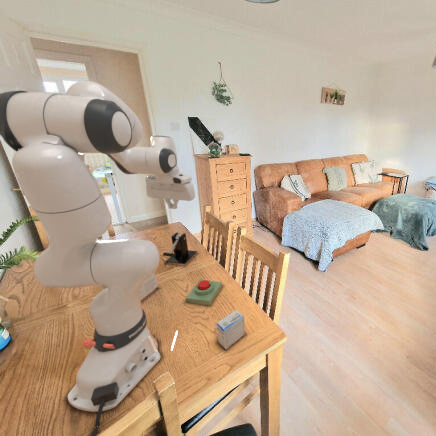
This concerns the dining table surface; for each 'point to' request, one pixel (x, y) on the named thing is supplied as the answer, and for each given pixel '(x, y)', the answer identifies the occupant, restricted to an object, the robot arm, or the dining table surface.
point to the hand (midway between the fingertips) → (173, 208)
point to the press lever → (173, 247)
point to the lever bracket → (181, 250)
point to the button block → (204, 293)
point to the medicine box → (230, 329)
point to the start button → (204, 285)
